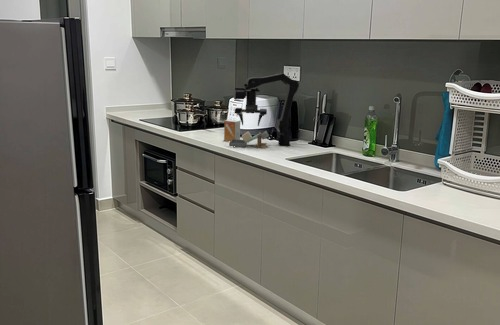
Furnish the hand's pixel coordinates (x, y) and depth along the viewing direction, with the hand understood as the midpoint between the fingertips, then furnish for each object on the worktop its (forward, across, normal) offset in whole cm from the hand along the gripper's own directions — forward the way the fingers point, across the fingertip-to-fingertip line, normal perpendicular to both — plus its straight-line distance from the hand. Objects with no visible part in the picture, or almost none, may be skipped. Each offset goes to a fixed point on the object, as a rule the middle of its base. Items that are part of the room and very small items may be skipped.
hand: (250, 125), depth 285 cm
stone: (+9, -1, 0) cm, 9 cm away
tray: (+12, -7, 0) cm, 14 cm away
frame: (+12, +7, 0) cm, 14 cm away
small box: (+12, -12, +13) cm, 22 cm away
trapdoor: (+9, +6, 0) cm, 11 cm away
